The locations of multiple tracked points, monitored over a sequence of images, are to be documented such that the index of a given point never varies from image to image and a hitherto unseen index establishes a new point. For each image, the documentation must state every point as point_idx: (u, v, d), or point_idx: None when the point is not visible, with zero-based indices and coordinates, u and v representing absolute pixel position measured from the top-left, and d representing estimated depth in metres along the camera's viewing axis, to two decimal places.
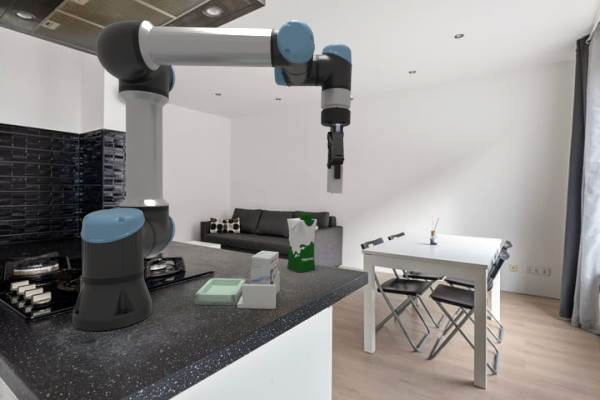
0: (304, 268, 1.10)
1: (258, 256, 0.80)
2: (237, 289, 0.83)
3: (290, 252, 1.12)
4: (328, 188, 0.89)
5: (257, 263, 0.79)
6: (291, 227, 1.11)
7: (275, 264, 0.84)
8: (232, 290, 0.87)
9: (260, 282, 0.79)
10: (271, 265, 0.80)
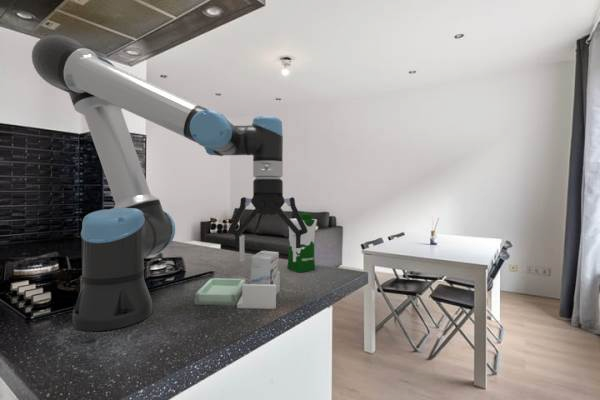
0: (304, 268, 1.10)
1: (258, 256, 0.80)
2: (237, 289, 0.83)
3: (290, 252, 1.12)
4: None
5: (257, 263, 0.79)
6: None
7: (275, 264, 0.84)
8: (232, 290, 0.87)
9: (260, 282, 0.79)
10: (271, 265, 0.80)
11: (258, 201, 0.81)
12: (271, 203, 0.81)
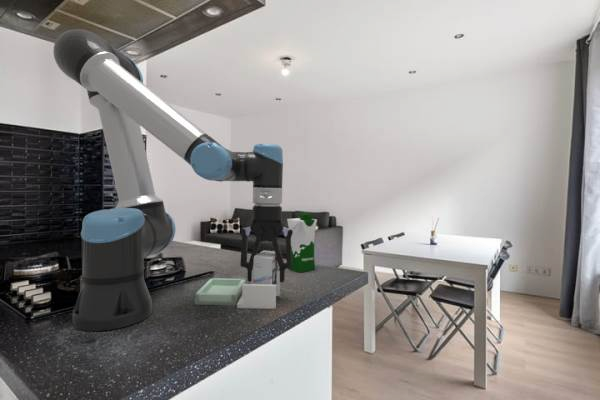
0: (304, 268, 1.10)
1: (260, 256, 0.80)
2: (237, 289, 0.83)
3: None
4: None
5: (259, 262, 0.79)
6: (291, 227, 1.11)
7: (276, 264, 0.84)
8: (232, 290, 0.87)
9: (262, 281, 0.79)
10: (272, 265, 0.80)
11: (257, 226, 0.82)
12: (270, 230, 0.81)
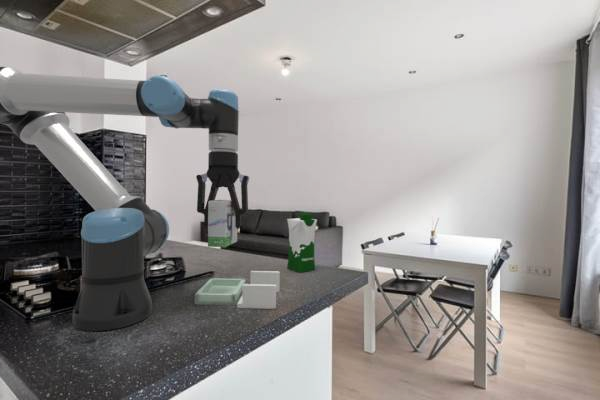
0: (304, 268, 1.10)
1: (215, 201, 0.82)
2: (237, 289, 0.83)
3: (290, 252, 1.12)
4: None
5: (213, 206, 0.81)
6: (291, 227, 1.11)
7: (233, 211, 0.85)
8: (232, 290, 0.87)
9: (217, 225, 0.81)
10: (227, 209, 0.82)
11: (213, 172, 0.83)
12: (225, 175, 0.82)
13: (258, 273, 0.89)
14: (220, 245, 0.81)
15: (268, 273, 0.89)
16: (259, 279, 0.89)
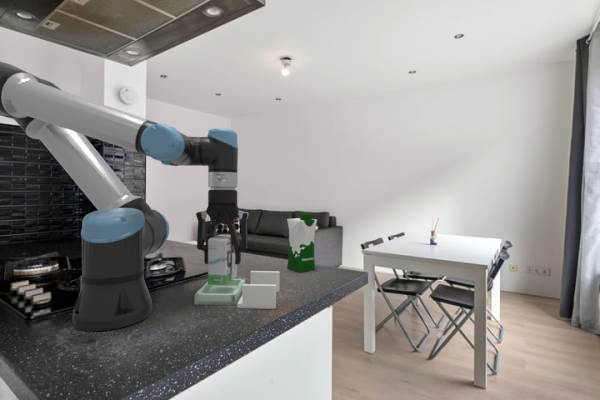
0: (304, 268, 1.10)
1: (214, 238, 0.82)
2: (237, 289, 0.83)
3: (290, 252, 1.12)
4: None
5: (213, 245, 0.81)
6: (291, 227, 1.11)
7: (233, 247, 0.86)
8: (232, 290, 0.87)
9: (217, 263, 0.81)
10: (227, 247, 0.82)
11: (212, 210, 0.84)
12: (225, 213, 0.83)
13: (258, 273, 0.89)
14: (220, 283, 0.81)
15: (268, 273, 0.89)
16: (259, 279, 0.89)
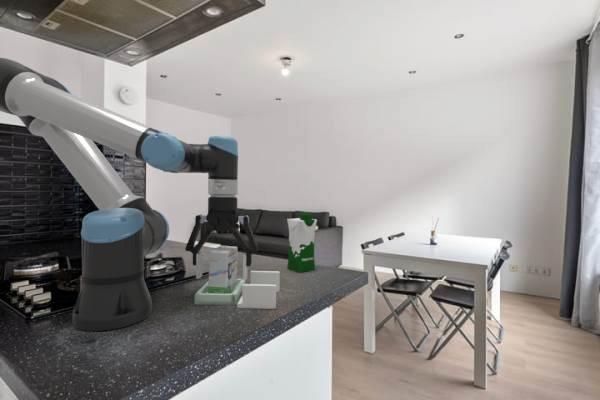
0: (304, 268, 1.10)
1: (216, 250, 0.82)
2: (237, 289, 0.83)
3: (290, 252, 1.12)
4: None
5: (215, 257, 0.81)
6: (291, 227, 1.11)
7: (233, 258, 0.86)
8: None
9: (218, 275, 0.81)
10: (228, 259, 0.82)
11: (212, 218, 0.84)
12: (224, 220, 0.83)
13: (258, 273, 0.89)
14: None
15: (268, 273, 0.89)
16: (259, 279, 0.89)
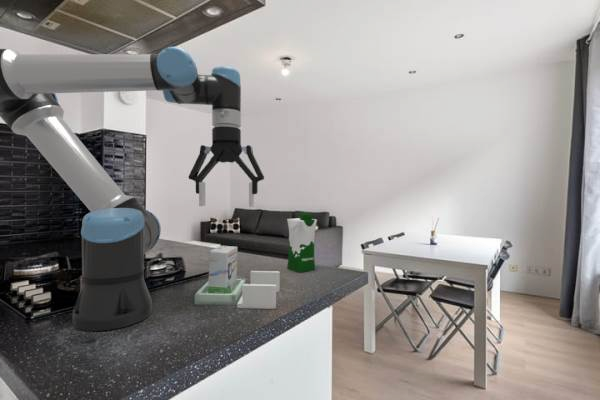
0: (304, 268, 1.10)
1: (216, 250, 0.82)
2: (237, 289, 0.83)
3: (290, 252, 1.12)
4: None
5: (215, 257, 0.81)
6: (291, 227, 1.11)
7: (233, 258, 0.86)
8: None
9: (218, 275, 0.81)
10: (228, 259, 0.82)
11: (216, 149, 0.86)
12: (228, 150, 0.85)
13: (258, 273, 0.89)
14: None
15: (268, 273, 0.89)
16: (259, 279, 0.89)
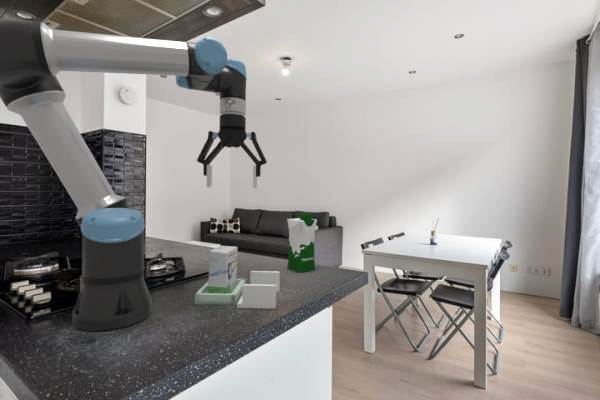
0: (304, 268, 1.10)
1: (216, 250, 0.82)
2: (237, 289, 0.83)
3: (290, 252, 1.12)
4: None
5: (215, 257, 0.81)
6: (291, 227, 1.11)
7: (233, 258, 0.86)
8: None
9: (218, 275, 0.81)
10: (228, 259, 0.82)
11: (223, 134, 0.94)
12: (234, 136, 0.93)
13: (258, 273, 0.89)
14: None
15: (268, 273, 0.89)
16: (259, 279, 0.89)
